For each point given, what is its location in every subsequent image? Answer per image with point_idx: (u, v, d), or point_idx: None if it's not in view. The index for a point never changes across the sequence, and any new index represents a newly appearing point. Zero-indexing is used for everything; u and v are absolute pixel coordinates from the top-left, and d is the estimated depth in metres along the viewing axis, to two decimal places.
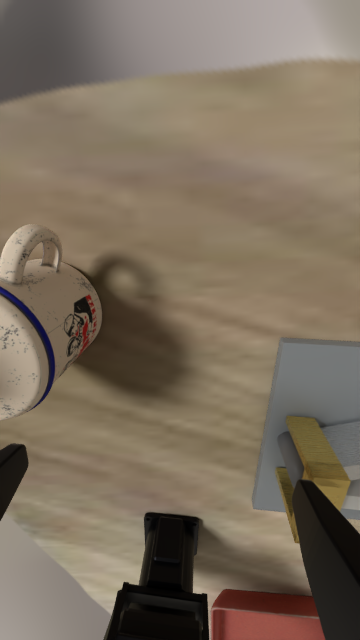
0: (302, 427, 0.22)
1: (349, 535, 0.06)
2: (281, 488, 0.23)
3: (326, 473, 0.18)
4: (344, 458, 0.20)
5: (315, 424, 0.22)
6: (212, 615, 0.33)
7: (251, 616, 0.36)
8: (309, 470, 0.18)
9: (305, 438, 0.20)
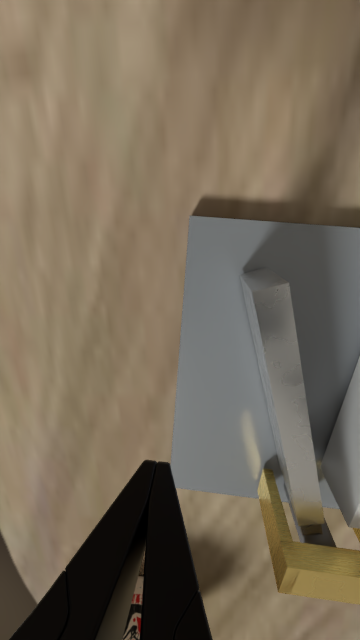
0: (263, 499, 0.19)
1: (168, 510, 0.06)
2: None
3: (279, 573, 0.15)
4: (292, 504, 0.16)
5: (264, 481, 0.19)
6: None
7: None
8: (276, 578, 0.15)
9: (266, 518, 0.18)
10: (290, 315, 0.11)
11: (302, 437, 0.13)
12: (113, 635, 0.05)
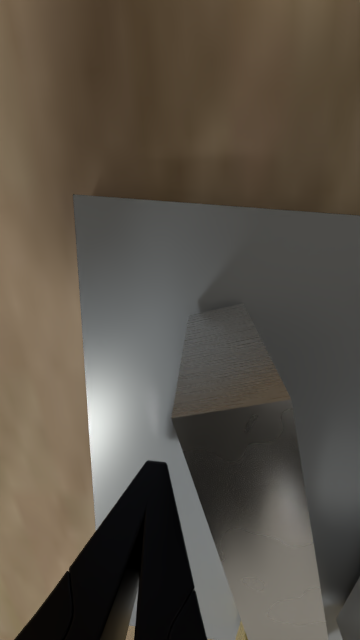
0: None
1: (165, 510, 0.06)
2: None
3: None
4: None
5: None
6: None
7: None
8: None
9: None
10: (294, 485, 0.04)
11: None
12: (116, 636, 0.05)
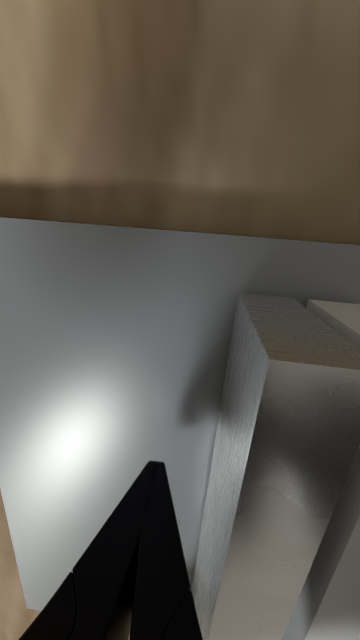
0: None
1: (161, 510, 0.06)
2: None
3: None
4: None
5: None
6: None
7: None
8: None
9: None
10: (344, 457, 0.04)
11: None
12: (120, 636, 0.05)
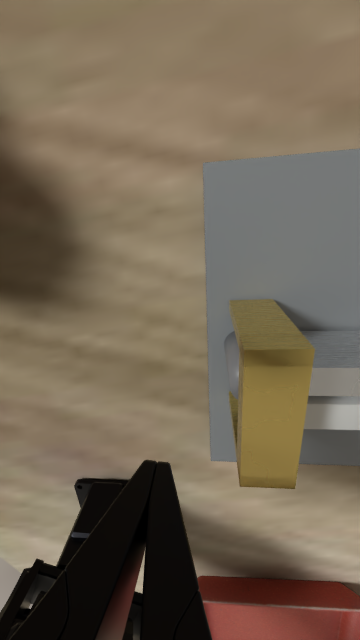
0: (249, 307, 0.13)
1: (168, 511, 0.06)
2: (231, 415, 0.15)
3: (270, 344, 0.09)
4: (324, 360, 0.12)
5: (271, 303, 0.14)
6: None
7: (239, 609, 0.28)
8: (242, 343, 0.10)
9: (249, 315, 0.12)
10: None
11: None
12: (113, 635, 0.05)
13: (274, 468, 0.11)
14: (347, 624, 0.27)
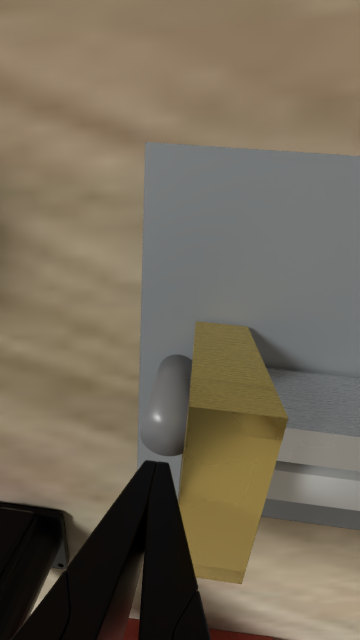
0: (216, 334, 0.11)
1: (167, 510, 0.06)
2: (181, 461, 0.12)
3: (228, 400, 0.07)
4: None
5: (245, 332, 0.11)
6: None
7: None
8: (190, 393, 0.07)
9: (213, 347, 0.10)
10: None
11: None
12: (114, 635, 0.05)
13: (217, 558, 0.08)
14: None
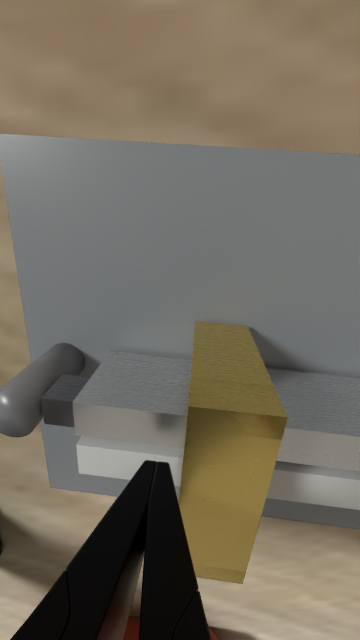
0: (216, 334, 0.11)
1: (167, 511, 0.06)
2: None
3: (227, 400, 0.07)
4: (103, 393, 0.10)
5: (244, 332, 0.11)
6: None
7: None
8: (189, 393, 0.07)
9: (212, 346, 0.10)
10: None
11: None
12: (114, 635, 0.05)
13: (218, 557, 0.08)
14: None
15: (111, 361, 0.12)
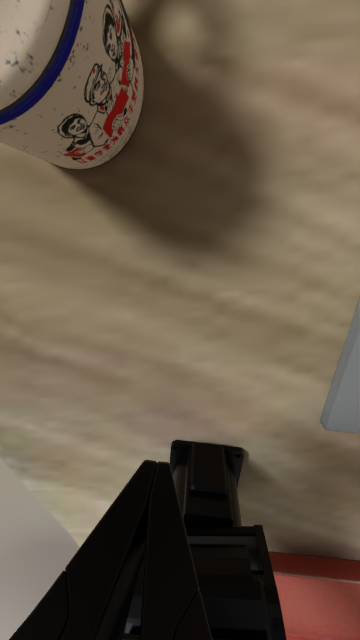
0: None
1: (168, 511, 0.06)
2: None
3: None
4: None
5: None
6: None
7: (293, 587, 0.29)
8: None
9: None
10: None
11: None
12: (113, 635, 0.05)
13: None
14: None
15: None
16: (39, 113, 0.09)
